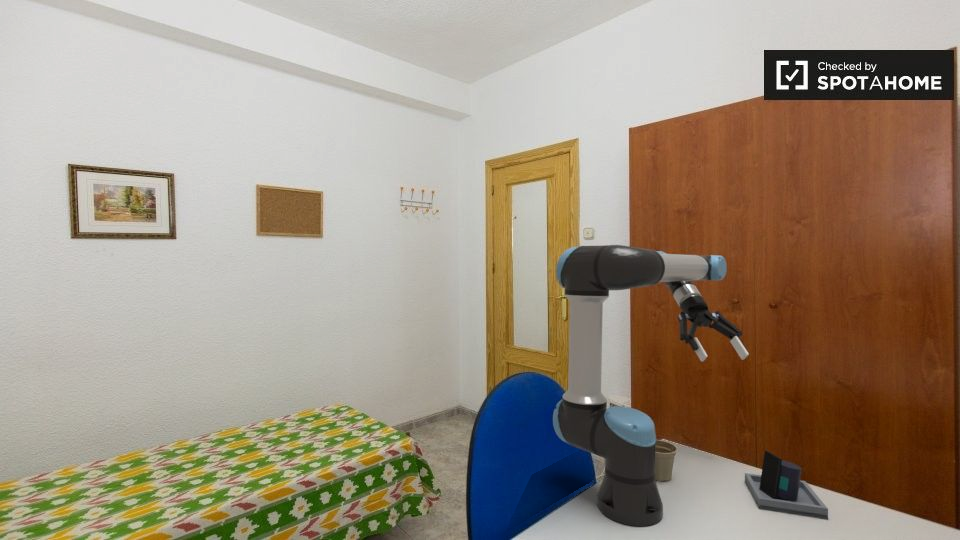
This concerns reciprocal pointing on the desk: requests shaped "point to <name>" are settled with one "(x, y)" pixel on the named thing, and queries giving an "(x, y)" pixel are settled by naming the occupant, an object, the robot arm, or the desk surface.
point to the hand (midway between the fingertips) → (725, 358)
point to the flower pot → (664, 459)
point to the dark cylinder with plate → (780, 478)
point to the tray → (802, 506)
